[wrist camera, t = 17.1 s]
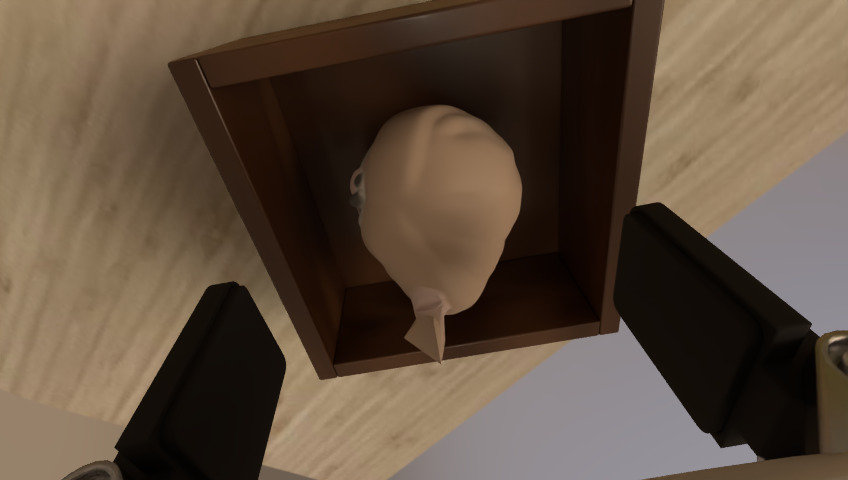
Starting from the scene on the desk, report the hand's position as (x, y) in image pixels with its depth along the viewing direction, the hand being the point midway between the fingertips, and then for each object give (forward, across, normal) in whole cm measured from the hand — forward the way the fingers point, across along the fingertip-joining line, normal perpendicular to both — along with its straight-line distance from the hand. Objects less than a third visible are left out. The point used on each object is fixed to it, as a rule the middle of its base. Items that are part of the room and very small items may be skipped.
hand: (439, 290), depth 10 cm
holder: (+9, -1, +1) cm, 9 cm away
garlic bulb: (+9, -1, 0) cm, 9 cm away
